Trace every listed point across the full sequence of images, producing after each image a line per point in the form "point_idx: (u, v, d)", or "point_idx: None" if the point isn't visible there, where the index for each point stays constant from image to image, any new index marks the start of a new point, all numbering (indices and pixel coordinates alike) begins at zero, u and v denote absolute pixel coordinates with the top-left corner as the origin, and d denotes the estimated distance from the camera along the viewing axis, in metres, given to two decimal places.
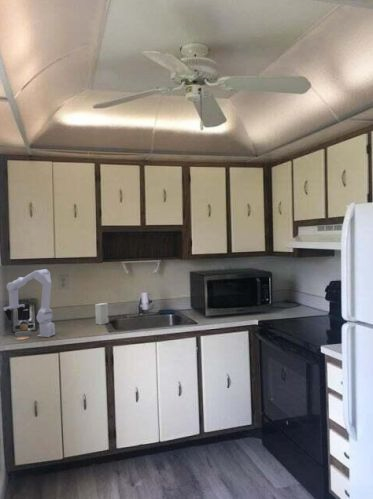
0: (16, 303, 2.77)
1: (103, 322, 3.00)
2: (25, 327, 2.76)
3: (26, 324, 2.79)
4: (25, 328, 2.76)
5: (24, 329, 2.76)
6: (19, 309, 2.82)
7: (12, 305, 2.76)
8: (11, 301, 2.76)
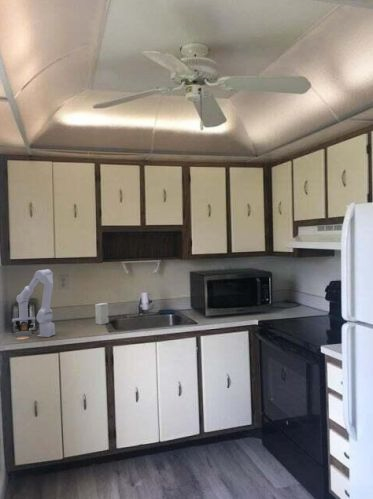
0: (23, 316, 2.75)
1: (103, 322, 3.00)
2: (25, 327, 2.76)
3: (26, 324, 2.79)
4: (25, 327, 2.76)
5: (24, 329, 2.76)
6: (28, 322, 2.78)
7: (19, 317, 2.75)
8: (19, 313, 2.75)
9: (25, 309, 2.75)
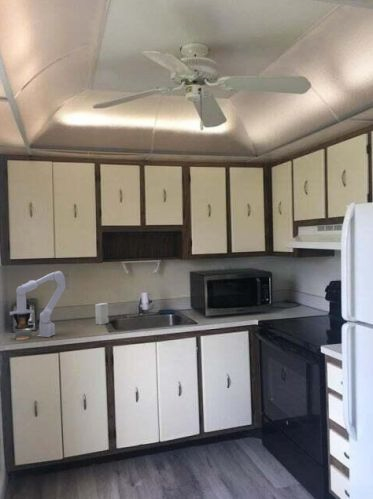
0: (21, 309, 2.63)
1: (103, 322, 3.00)
2: (23, 320, 2.65)
3: None
4: (23, 321, 2.65)
5: (22, 322, 2.64)
6: (26, 315, 2.67)
7: (17, 310, 2.64)
8: (17, 306, 2.64)
9: (25, 301, 2.66)
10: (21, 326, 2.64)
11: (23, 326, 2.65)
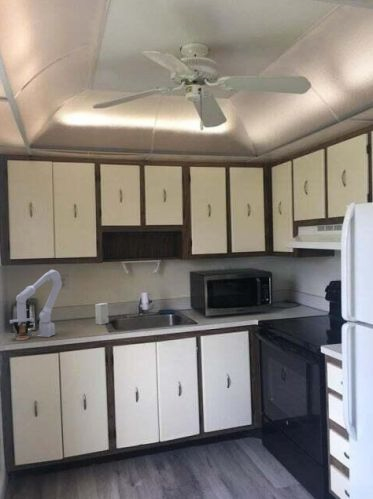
0: (21, 317, 2.62)
1: (103, 322, 3.00)
2: (23, 328, 2.63)
3: (25, 326, 2.66)
4: (24, 329, 2.63)
5: (22, 330, 2.63)
6: None
7: (18, 318, 2.62)
8: (17, 314, 2.62)
9: None
10: (21, 334, 2.63)
11: (23, 334, 2.63)
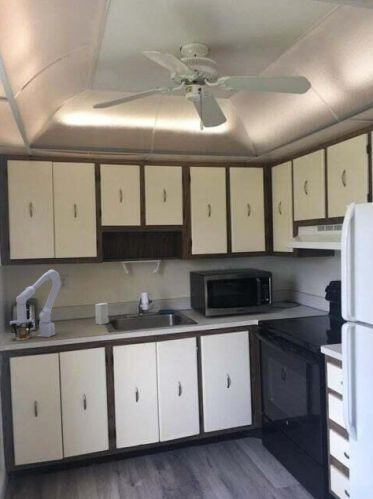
0: (21, 318, 2.62)
1: (103, 322, 3.00)
2: (23, 331, 2.63)
3: (25, 328, 2.66)
4: (24, 331, 2.63)
5: (22, 333, 2.63)
6: (28, 324, 2.66)
7: (18, 319, 2.62)
8: (17, 315, 2.62)
9: None
10: (21, 337, 2.63)
11: (23, 337, 2.63)
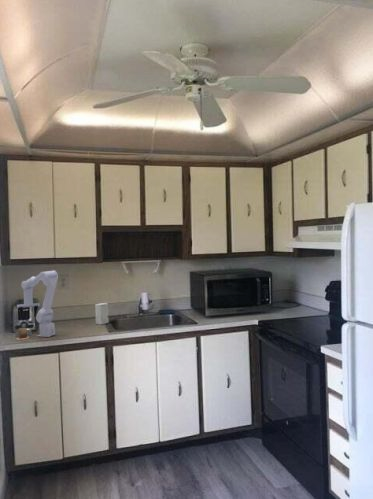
0: (28, 302, 2.78)
1: (103, 322, 3.00)
2: (23, 330, 2.63)
3: (25, 328, 2.66)
4: (24, 331, 2.63)
5: (22, 332, 2.63)
6: (34, 308, 2.82)
7: (24, 303, 2.79)
8: (24, 299, 2.79)
9: (29, 295, 2.78)
10: (21, 337, 2.63)
11: (23, 337, 2.63)
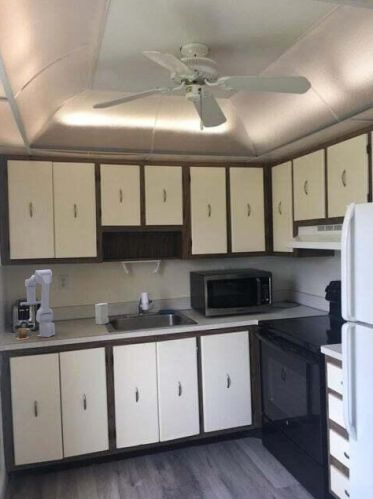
0: (31, 300, 2.85)
1: (103, 322, 3.00)
2: (23, 330, 2.63)
3: (25, 328, 2.66)
4: (24, 331, 2.63)
5: (22, 332, 2.63)
6: (37, 306, 2.89)
7: (27, 301, 2.86)
8: (27, 297, 2.86)
9: (31, 293, 2.85)
10: (21, 337, 2.63)
11: (23, 336, 2.63)
